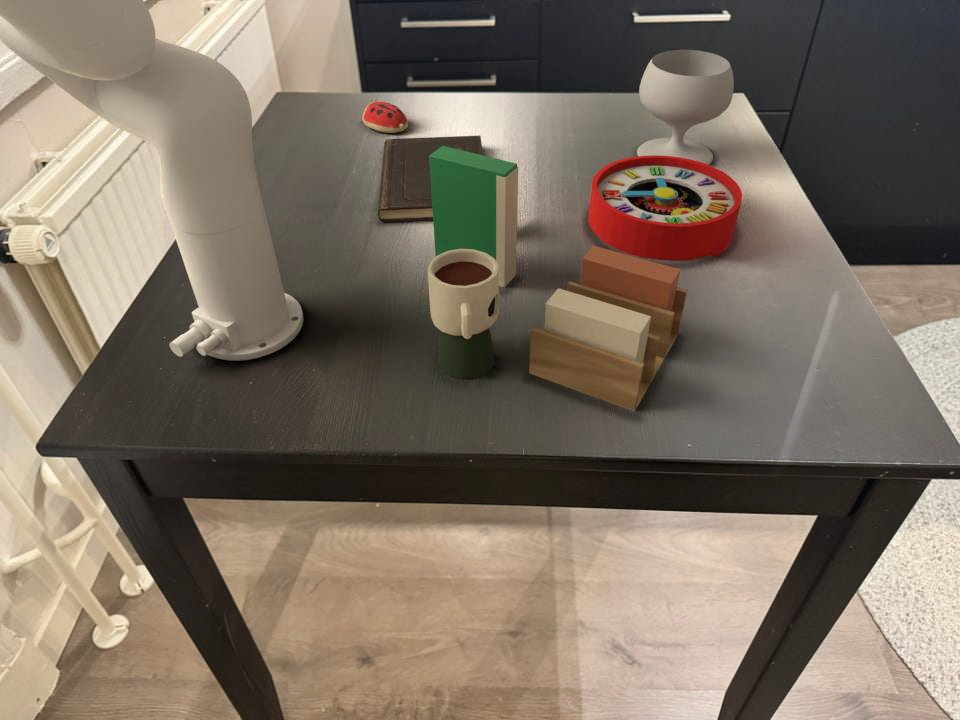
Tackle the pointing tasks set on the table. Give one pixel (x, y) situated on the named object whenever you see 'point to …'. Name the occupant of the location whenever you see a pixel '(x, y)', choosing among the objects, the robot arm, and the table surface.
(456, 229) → the green book
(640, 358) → the cream book
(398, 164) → the hardcover book
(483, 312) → the character mug
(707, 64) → the chalice
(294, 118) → the table surface
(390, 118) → the ladybug figurine
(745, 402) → the table surface
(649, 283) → the terracotta book
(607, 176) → the toy clock
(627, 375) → the book rack
